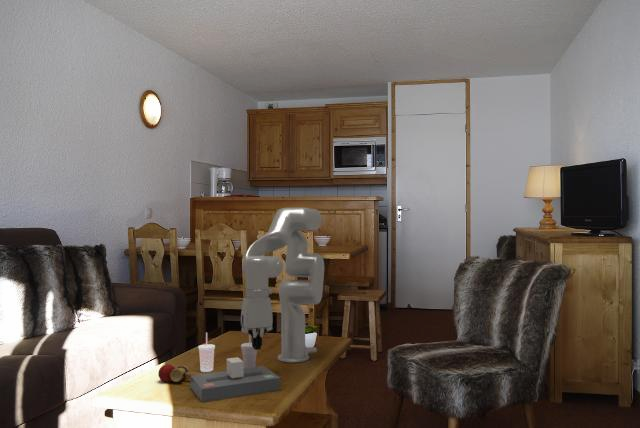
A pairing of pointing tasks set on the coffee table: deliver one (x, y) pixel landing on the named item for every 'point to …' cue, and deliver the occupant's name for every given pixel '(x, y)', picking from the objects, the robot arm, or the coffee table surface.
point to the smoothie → (248, 354)
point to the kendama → (174, 373)
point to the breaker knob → (235, 367)
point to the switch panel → (234, 384)
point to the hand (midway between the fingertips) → (256, 348)
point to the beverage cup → (206, 356)
